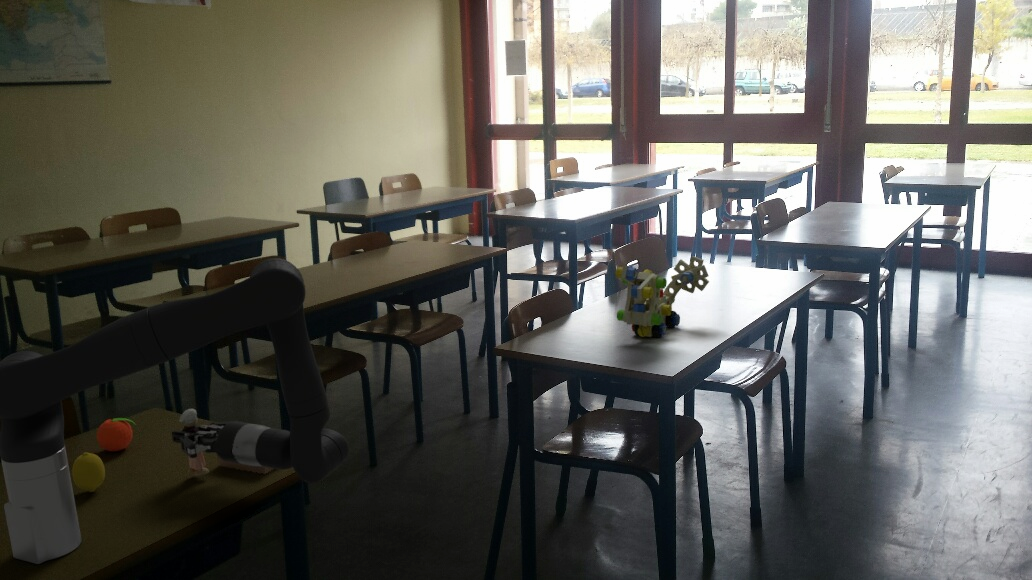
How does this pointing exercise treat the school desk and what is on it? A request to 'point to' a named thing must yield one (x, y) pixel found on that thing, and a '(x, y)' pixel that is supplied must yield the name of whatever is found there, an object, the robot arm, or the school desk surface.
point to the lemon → (88, 471)
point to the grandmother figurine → (190, 421)
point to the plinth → (244, 466)
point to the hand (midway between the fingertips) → (179, 433)
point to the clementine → (115, 434)
